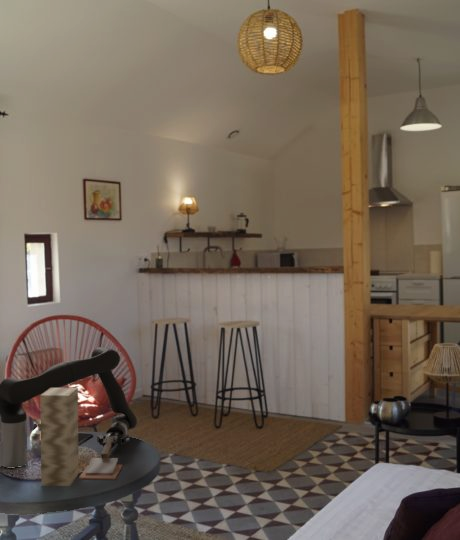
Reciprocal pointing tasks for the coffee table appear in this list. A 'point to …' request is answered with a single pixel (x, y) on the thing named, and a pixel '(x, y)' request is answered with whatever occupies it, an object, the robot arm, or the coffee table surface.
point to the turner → (103, 461)
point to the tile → (116, 471)
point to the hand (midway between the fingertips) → (108, 445)
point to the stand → (59, 436)
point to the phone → (83, 437)
